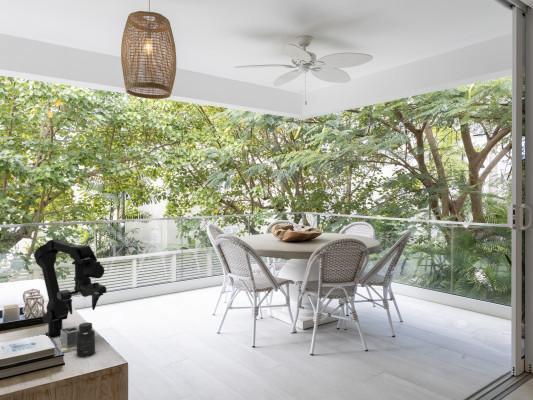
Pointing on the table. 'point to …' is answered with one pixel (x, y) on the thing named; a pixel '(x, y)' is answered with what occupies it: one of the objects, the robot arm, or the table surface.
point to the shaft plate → (66, 349)
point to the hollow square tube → (69, 337)
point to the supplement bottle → (85, 340)
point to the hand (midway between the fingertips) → (82, 312)
